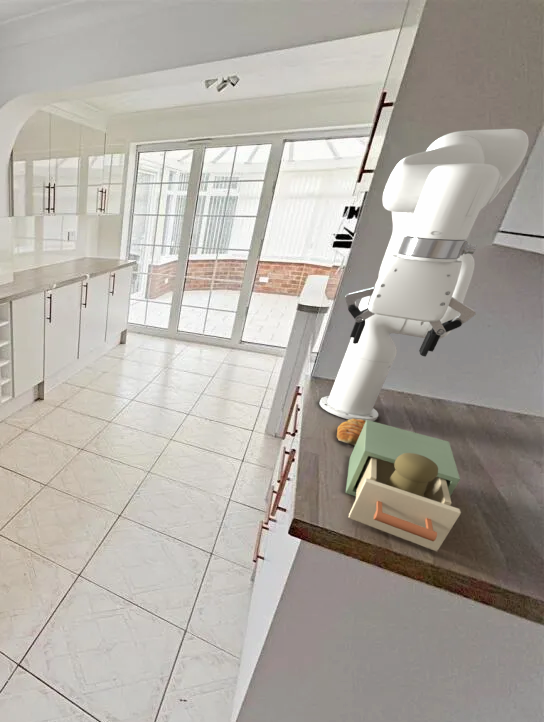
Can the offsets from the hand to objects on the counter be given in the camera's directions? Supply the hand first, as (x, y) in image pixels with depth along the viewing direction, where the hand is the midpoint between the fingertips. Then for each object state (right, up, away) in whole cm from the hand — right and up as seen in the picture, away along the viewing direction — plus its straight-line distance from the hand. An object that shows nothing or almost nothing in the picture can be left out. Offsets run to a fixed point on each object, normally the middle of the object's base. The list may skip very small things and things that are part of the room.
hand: (387, 347), depth 74 cm
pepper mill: (-3, -29, -4) cm, 29 cm away
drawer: (-3, -30, -4) cm, 30 cm away
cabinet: (+4, -27, +5) cm, 27 cm away
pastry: (+10, -19, +21) cm, 31 cm away
